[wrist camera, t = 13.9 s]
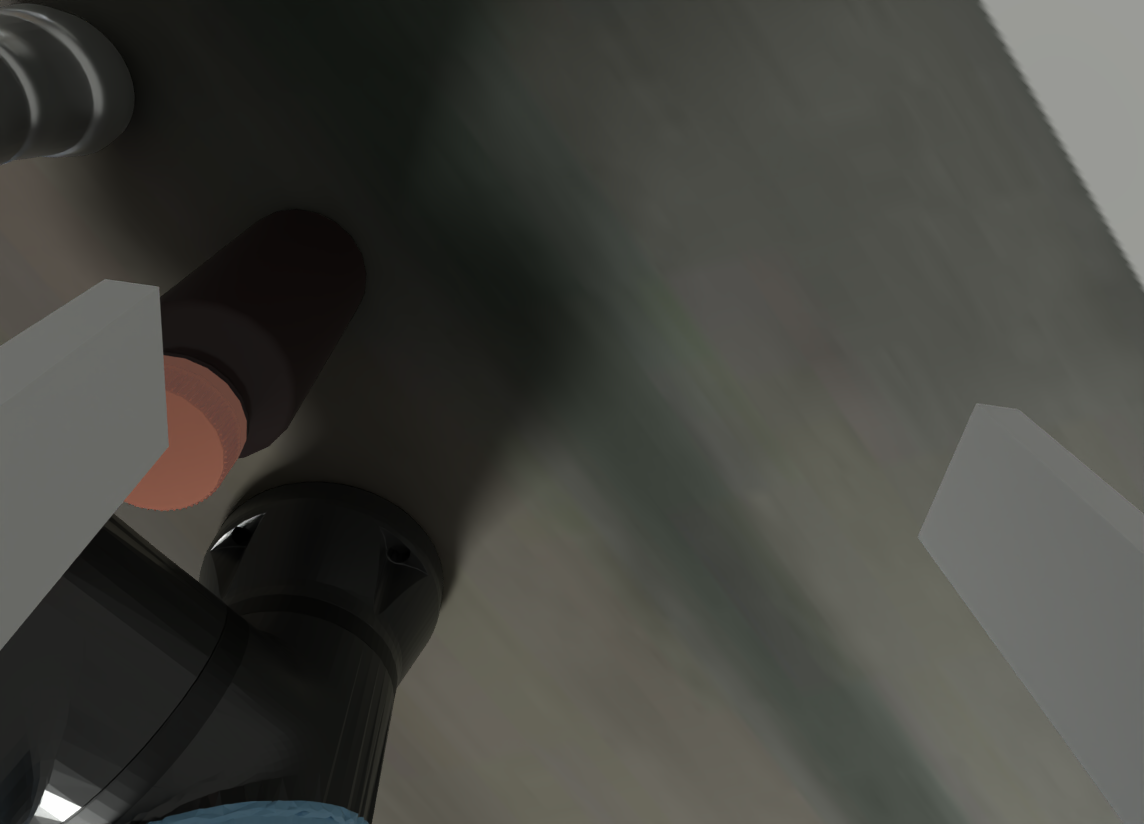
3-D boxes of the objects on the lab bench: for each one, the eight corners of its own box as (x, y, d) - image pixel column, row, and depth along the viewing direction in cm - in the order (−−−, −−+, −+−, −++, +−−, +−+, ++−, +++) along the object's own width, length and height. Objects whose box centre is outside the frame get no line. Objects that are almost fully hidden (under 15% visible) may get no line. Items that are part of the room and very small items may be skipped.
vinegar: (218, 227, 43) (-7, 386, 25) (338, 191, 42) (194, 327, 24) (274, 341, 46) (109, 556, 28) (386, 309, 45) (290, 507, 27)
